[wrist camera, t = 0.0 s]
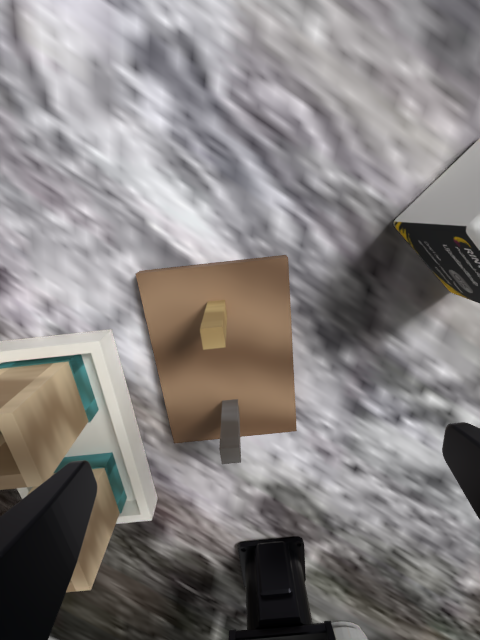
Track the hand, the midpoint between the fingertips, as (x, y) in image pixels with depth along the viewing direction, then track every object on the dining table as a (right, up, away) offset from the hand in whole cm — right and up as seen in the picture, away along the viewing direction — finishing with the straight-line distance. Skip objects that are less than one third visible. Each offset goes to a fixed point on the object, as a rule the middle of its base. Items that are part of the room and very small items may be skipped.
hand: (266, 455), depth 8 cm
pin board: (-2, +1, +15) cm, 15 cm away
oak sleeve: (-15, -1, +15) cm, 21 cm away
